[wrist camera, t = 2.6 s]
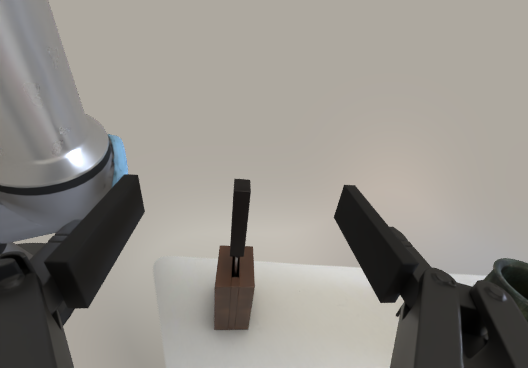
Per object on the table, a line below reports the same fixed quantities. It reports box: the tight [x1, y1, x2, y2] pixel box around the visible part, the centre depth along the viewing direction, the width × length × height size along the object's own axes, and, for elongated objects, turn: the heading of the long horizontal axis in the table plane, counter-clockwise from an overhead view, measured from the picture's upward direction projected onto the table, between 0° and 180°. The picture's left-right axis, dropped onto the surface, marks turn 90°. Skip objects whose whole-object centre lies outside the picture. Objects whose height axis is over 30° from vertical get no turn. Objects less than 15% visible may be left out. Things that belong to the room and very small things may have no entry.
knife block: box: [214, 246, 255, 330], centre depth 35 cm, size 5×7×10 cm
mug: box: [484, 258, 528, 335], centre depth 34 cm, size 11×15×12 cm
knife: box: [230, 179, 251, 277], centre depth 32 cm, size 2×3×23 cm, turn 4°
